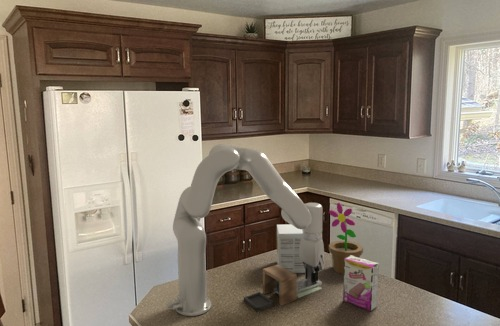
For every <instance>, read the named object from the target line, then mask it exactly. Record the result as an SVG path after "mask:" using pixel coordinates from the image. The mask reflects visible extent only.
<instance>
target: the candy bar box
mask: <svg viewBox="0 0 500 326" xmlns="http://www.w3.org/2000/svg"><path fill="white" fill-rule="evenodd" d="M379 268H380V263H379V262H375V261H372V260H368V259H364V258H362V257H360V258H359V257H356V256H352V255H350V256H348V257H347V258H345V259H344V274H343V293H342V295H343V298H342V301H343V302H345V303H348V304H351V305H353V306H356V307H359V308H361V309H365V310H366V311H368V312H369V311H370V312H372V311H373V310H375V308H377V306H378V297H379V296H378V292H379V272H380V271H379Z"/></svg>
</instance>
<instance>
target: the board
mask: <svg viewBox="0 0 500 326" xmlns="http://www.w3.org/2000/svg"><path fill="white" fill-rule="evenodd" d="M321 290H323V288H322V287H321V286H320V285H318V286H315V287H313V288H310V289H307V290H304V291H301V292H298V293H297V298H298V299H299V298H301V297H305V296H307V295H310V294H312V293H316V292H318V291H321Z"/></svg>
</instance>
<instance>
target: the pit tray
mask: <svg viewBox="0 0 500 326" xmlns="http://www.w3.org/2000/svg"><path fill="white" fill-rule="evenodd" d="M243 302H244V303H245V304H247V305H248V306H249V307H251V308H252V309H254V311H256V312H261V311H264V310H266V309H269V308H272V307H274V306H275V302H274V301H273V300H271V298H269V297H268V296H266V295H265V294H264V293H261V292H260V291H258V292H256V293H253V294H250V295H247V296H243Z"/></svg>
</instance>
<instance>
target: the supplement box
mask: <svg viewBox="0 0 500 326" xmlns="http://www.w3.org/2000/svg"><path fill="white" fill-rule="evenodd" d="M302 230H303V229H298V228H296V227H294V226H293V225H291V224H290V223H288V224H287V223H286V224H276V263H277V264H276V265H279V266H281V267H283V268H285V269H287V270H288V271H290V272H292V273H294V274H305V268H304V264H303V262H302V261H301V260H300V259H299V248H300V241H301V237H302V236H303V231H302Z"/></svg>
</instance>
